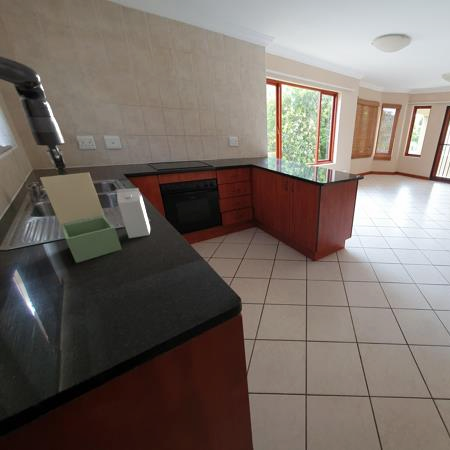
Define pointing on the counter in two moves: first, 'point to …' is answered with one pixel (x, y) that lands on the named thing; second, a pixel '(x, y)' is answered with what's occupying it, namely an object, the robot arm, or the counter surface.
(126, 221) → the milk carton
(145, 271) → the counter surface
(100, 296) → the counter surface
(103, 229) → the bin
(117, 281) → the counter surface
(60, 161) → the robot arm
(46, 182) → the bin lid
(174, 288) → the counter surface
